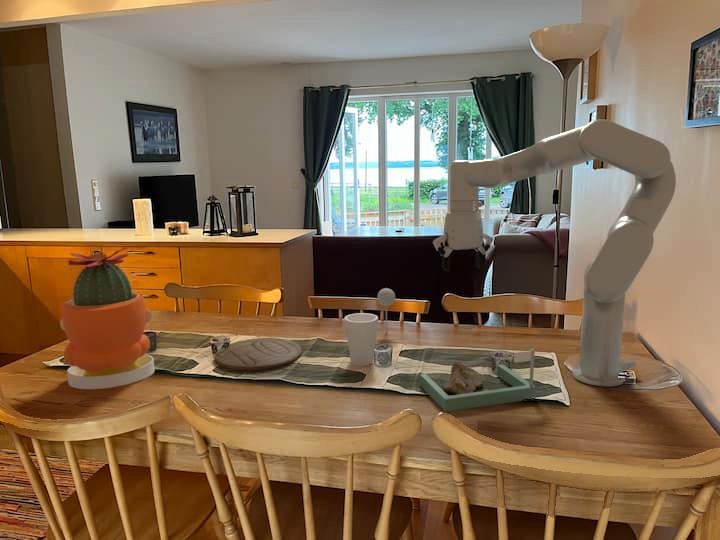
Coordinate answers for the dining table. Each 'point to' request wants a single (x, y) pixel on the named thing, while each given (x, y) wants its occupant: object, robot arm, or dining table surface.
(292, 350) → the trivet
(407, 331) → the dining table surface
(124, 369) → the potted cactus
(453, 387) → the decorative stone
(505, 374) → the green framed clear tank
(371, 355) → the foam cup
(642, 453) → the dining table surface
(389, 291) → the lollipop
